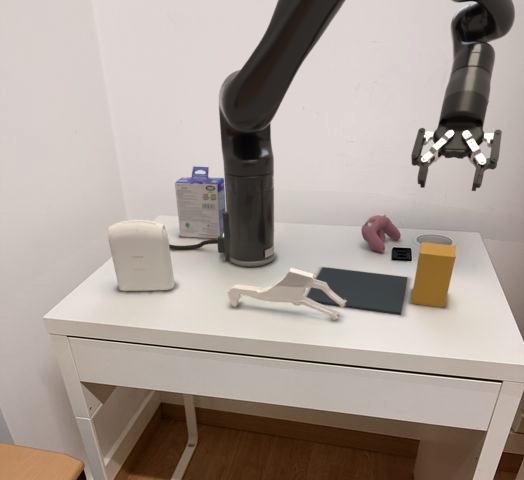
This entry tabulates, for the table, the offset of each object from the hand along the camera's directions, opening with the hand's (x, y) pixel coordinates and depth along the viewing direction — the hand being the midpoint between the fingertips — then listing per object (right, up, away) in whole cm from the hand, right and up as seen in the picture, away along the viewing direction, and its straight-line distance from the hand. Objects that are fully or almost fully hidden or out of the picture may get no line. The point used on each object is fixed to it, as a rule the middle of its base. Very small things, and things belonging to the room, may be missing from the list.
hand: (447, 187), depth 83 cm
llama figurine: (-28, -22, -4) cm, 36 cm away
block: (-4, -20, -1) cm, 20 cm away
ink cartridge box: (-46, -2, +27) cm, 53 cm away
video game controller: (-7, -6, +20) cm, 22 cm away
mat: (-15, -18, +2) cm, 23 cm away
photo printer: (-53, -17, +4) cm, 56 cm away
